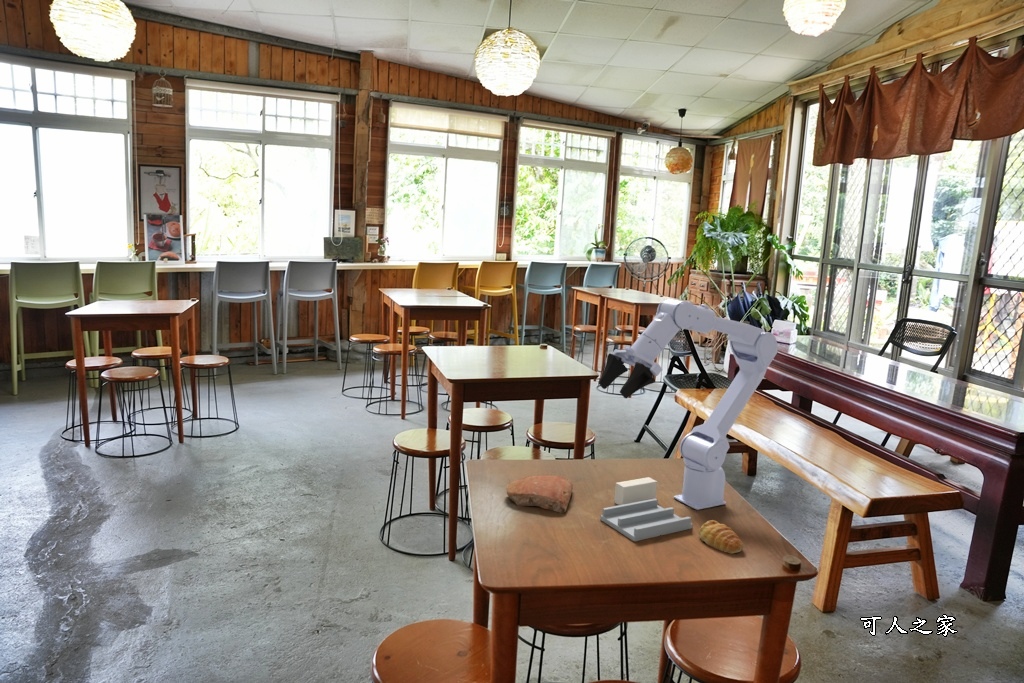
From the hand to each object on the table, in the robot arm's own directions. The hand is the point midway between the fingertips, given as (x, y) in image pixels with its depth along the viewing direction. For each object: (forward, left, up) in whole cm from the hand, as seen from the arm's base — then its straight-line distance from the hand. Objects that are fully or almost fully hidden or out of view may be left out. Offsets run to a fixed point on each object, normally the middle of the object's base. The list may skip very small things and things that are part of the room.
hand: (611, 390), depth 148 cm
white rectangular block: (-13, -5, -29) cm, 32 cm away
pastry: (-16, +20, -29) cm, 39 cm away
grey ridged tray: (-7, +6, -29) cm, 30 cm away
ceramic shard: (+7, -16, -29) cm, 34 cm away
